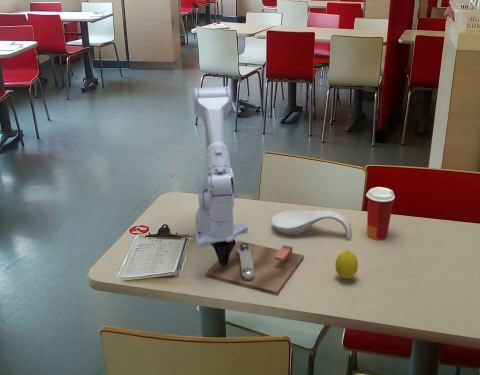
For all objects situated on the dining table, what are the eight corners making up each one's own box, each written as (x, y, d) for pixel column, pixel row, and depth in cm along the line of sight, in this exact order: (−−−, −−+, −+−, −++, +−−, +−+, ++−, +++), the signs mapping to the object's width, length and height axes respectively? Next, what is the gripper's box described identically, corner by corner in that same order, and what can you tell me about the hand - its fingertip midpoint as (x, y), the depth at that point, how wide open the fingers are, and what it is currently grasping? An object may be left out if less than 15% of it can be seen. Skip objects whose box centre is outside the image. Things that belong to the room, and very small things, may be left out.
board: (205, 276, 140) (205, 273, 140) (237, 243, 156) (237, 240, 156) (277, 295, 132) (277, 291, 132) (303, 258, 148) (303, 255, 148)
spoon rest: (267, 237, 160) (267, 215, 157) (275, 219, 170) (276, 198, 167) (348, 247, 154) (350, 224, 151) (352, 228, 164) (354, 206, 161)
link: (236, 249, 150) (236, 241, 149) (250, 248, 150) (250, 241, 150) (240, 280, 136) (240, 272, 135) (256, 279, 136) (256, 271, 135)
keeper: (274, 267, 142) (274, 256, 141) (283, 255, 148) (283, 245, 146) (282, 269, 141) (283, 258, 140) (292, 257, 147) (292, 247, 145)
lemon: (356, 285, 136) (358, 258, 132) (334, 283, 137) (335, 255, 133) (356, 273, 141) (359, 246, 137) (335, 271, 142) (336, 244, 138)
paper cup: (391, 231, 161) (396, 188, 156) (389, 243, 155) (394, 198, 149) (364, 227, 164) (368, 184, 158) (361, 239, 157) (365, 195, 151)
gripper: (205, 231, 131) (207, 279, 136) (254, 215, 138) (254, 261, 144) (190, 220, 136) (193, 267, 142) (238, 205, 144) (239, 250, 149)
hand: (223, 263), depth 143 cm, fingers closed
